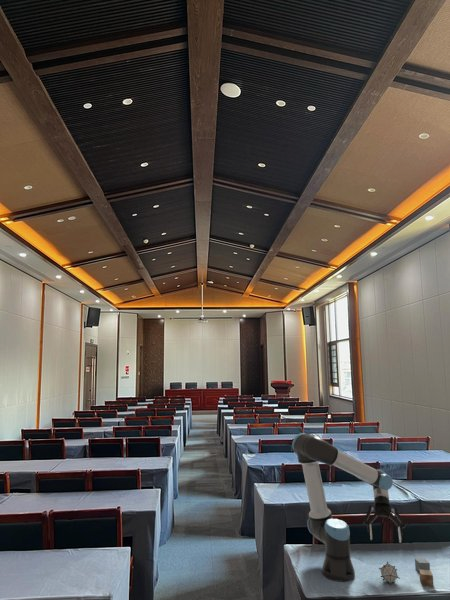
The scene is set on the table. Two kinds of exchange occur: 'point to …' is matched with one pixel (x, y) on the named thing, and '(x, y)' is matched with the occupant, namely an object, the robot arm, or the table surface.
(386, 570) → the spiky ball
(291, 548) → the table surface
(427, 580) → the walnut block
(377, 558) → the table surface
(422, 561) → the slate block
